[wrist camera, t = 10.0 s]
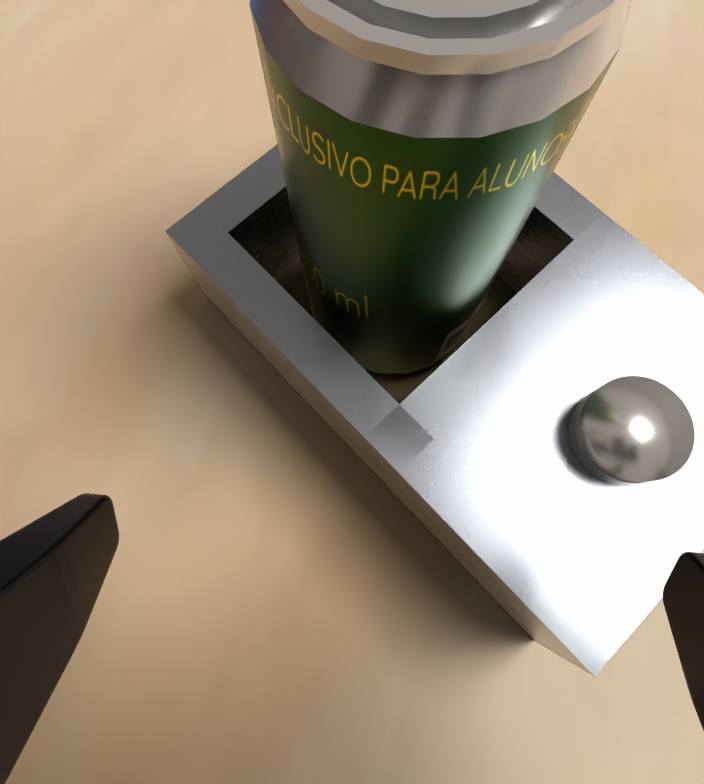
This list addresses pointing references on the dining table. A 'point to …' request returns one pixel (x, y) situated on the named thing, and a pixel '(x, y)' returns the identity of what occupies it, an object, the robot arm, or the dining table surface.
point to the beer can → (421, 150)
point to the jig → (509, 407)
